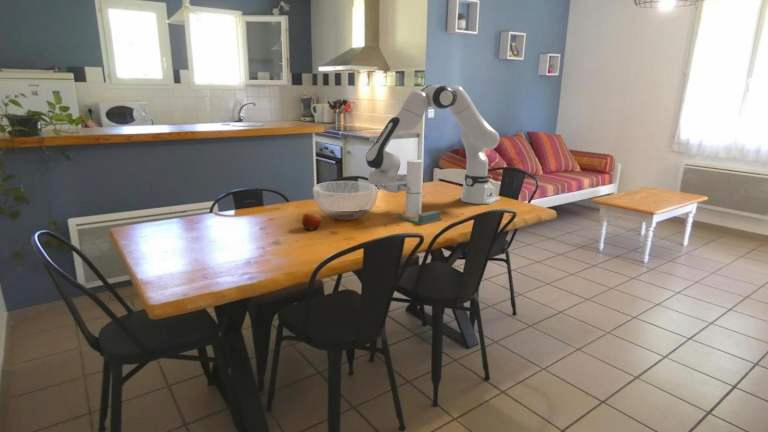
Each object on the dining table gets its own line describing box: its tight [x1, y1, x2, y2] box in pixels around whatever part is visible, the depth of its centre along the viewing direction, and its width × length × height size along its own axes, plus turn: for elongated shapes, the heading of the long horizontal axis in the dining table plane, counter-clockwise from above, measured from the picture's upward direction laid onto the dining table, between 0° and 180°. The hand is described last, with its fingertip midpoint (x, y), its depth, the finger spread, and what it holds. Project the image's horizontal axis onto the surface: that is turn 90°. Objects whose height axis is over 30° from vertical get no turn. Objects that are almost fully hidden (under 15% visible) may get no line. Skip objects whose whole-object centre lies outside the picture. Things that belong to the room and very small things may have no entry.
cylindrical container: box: [405, 159, 424, 217], centre depth 208 cm, size 7×7×25 cm
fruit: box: [301, 212, 323, 232], centre depth 190 cm, size 8×8×8 cm
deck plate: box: [395, 210, 442, 226], centre depth 209 cm, size 13×16×4 cm
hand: (415, 188), depth 207 cm, fingers closed on cylindrical container, 7 cm apart
